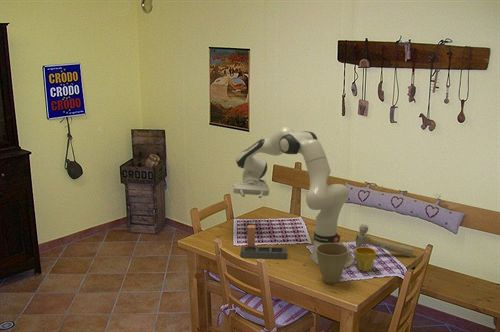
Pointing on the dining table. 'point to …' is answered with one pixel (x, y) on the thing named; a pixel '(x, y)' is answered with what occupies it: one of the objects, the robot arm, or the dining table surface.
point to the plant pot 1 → (331, 261)
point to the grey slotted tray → (263, 252)
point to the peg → (251, 235)
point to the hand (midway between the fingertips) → (251, 196)
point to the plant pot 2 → (365, 258)
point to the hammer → (380, 243)
